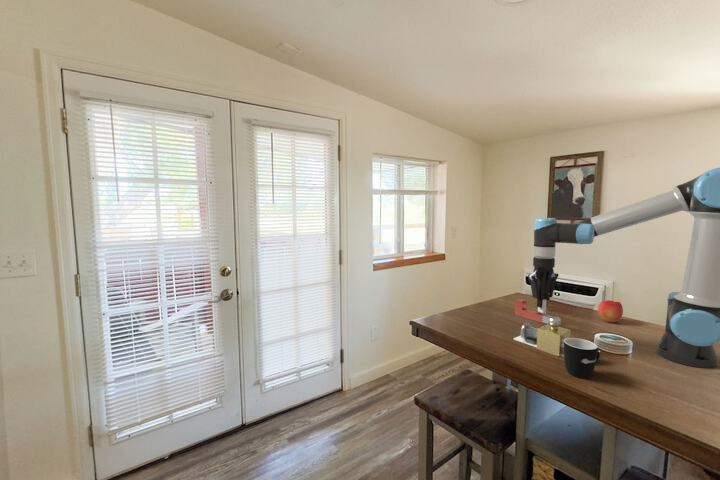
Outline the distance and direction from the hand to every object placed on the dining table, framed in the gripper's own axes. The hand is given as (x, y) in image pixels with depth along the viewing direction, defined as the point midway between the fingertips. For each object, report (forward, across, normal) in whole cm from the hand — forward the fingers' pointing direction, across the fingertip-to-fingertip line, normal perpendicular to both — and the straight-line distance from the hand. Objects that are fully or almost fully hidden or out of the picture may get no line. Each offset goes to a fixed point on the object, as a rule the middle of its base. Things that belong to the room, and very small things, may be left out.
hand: (541, 314), depth 133 cm
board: (+10, 0, +7) cm, 12 cm away
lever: (0, +5, +3) cm, 6 cm away
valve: (+10, +4, +10) cm, 14 cm away
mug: (+10, +8, +26) cm, 29 cm away
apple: (+10, -46, -7) cm, 47 cm away
